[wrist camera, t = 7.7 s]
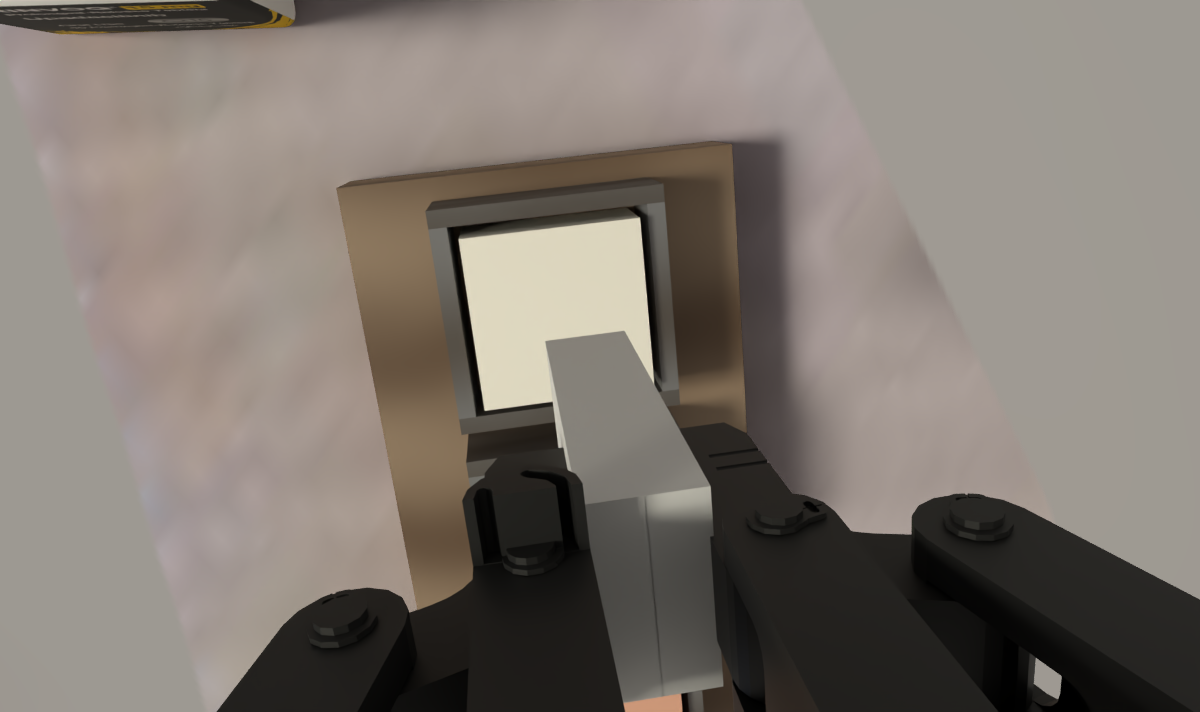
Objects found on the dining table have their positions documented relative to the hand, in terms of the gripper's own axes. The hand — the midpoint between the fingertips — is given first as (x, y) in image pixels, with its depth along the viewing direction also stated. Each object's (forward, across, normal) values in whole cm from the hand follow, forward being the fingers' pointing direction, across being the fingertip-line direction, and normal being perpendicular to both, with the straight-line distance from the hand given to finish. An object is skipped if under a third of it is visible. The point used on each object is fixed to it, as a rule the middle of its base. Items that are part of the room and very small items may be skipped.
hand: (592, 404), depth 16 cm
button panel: (+13, 0, -8) cm, 15 cm away
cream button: (+11, 0, 0) cm, 11 cm away
